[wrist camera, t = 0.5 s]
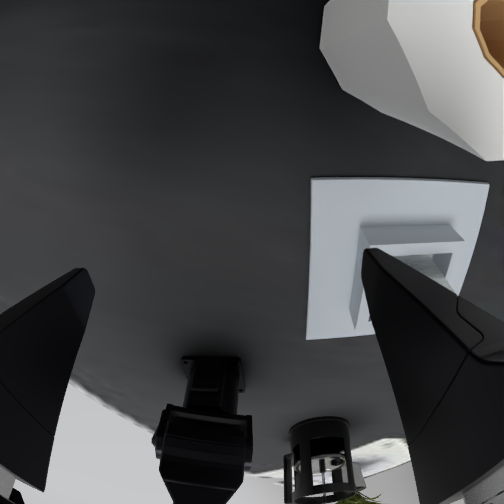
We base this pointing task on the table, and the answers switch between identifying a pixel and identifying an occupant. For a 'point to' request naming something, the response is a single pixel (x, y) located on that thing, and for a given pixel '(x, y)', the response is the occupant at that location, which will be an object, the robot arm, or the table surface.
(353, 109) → the table surface
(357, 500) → the house plant
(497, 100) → the toilet paper
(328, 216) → the stand base
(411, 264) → the column
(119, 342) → the table surface
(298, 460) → the french press
